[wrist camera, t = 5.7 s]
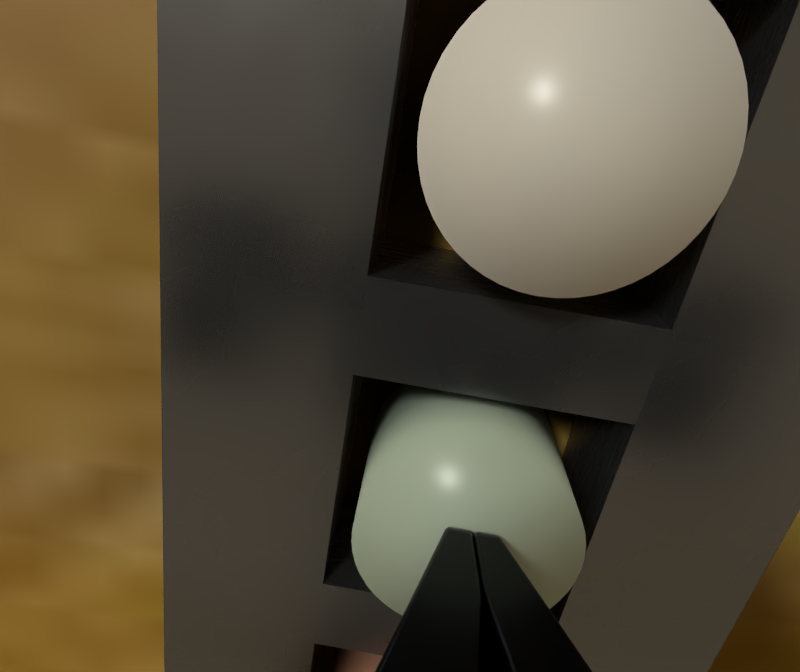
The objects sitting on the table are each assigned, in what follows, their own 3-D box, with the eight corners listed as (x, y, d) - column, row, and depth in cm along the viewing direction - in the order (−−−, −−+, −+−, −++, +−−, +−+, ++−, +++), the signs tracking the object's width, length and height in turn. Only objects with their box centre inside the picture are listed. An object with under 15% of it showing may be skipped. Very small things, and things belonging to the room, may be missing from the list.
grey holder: (958, -65, 8) (1160, -130, 6) (575, 754, 15) (598, 864, 13) (235, -191, 8) (154, -305, 6) (205, 688, 15) (165, 786, 13)
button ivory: (614, 261, 9) (678, 320, 7) (407, 225, 9) (394, 271, 7) (691, 25, 8) (808, -12, 5) (448, -17, 8) (451, -75, 5)
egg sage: (526, 530, 12) (550, 649, 9) (361, 501, 12) (338, 611, 9) (574, 384, 10) (618, 476, 8) (386, 350, 10) (367, 430, 8)
